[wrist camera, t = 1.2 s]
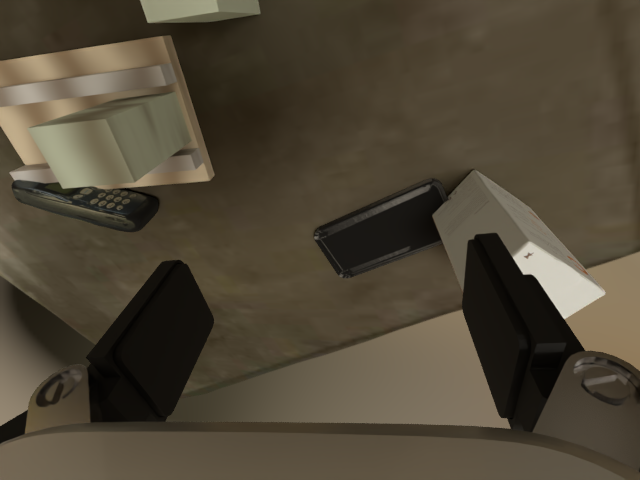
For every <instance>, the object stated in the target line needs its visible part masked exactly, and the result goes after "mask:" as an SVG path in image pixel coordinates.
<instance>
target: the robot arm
mask: <svg viewBox="0 0 640 480" xmlns="http://www.w3.org/2000/svg"><path fill="white" fill-rule="evenodd" d="M462 308H463V313H464V316H465V320H466V322H467V325H468V328H469V331H470V334H471V337H472V339H473V342H474V345H475V348H476V351H477V354H478V357H479V359H480V362H481V365H482V367H483V371H484V373H485V376H486V379H487V382H488V385H489V388H490V391H491V394H492V397H493V399H494V402H495V405H496V408H497V411H498V413H499V415H500V417H501V418H507V419H508V422H509V424H510V427H511V429H505V428H492V427H478V426H455V425H423V424H420V425H419V424H368V423H367V424H365V423H289V422H287V423H286V422H285V423H284V422H279V423H278V422H165V421H166V419H167V417H168V416H169V415H171V414H172V412H173V411H174V408H175V407H176V404H177V402H178V400H179V398H180V396H181V394H182V392H183V389H184V387H185V385H186V383H187V381H188V379H189V377H190V374H191V372H192V370H193V368H194V366H195V364H196V362H197V359H198V357H199V355H200V353H201V351H202V349H203V347H204V344H205V342H206V340H207V338H208V336H209V334H210V332H211V329H212V327H213V324H214V318H213V315H212V313H211V311H210V309H209V307H208V305H207V303H206V301H205V299H204V297H203V295H202V293H201V291H200V289H199V287H198V285H197V283H196V281H195V279H194V277H193V275H192V273H191V271H190V269H189V267H188V265H187V264H184V263H183V262H182V261H181V260H172V261H164V262H162V263H161V264H160V265H159V266H158V267H157V269H156V270H155V271H154V272H153V274H152V275H151V276H150V277H149V279H148V280H147V281H146V283H145V284H144V285H143V286H142V288H141V289H140V290H139V291H138V293H137V294H136V295H135V296H134V298H133V299H132V300H131V301H130V303H129V304H128V305H127V306H126V308H125V309H124V310H123V311H122V313H121V314H120V315H119V316H118V318H117V319H116V320H115V321H114V323H113V324H112V325H111V326H110V328H109V329H108V330H107V332H106V333H105V334H104V335H103V337H102V338H101V339H100V340H99V342H98V343H97V344H96V345H95V347H94V348H93V349H92V351H91V352H90V353H89V354H88V355H87V357H86V358H87V359H88V360H89V362H90V363H91V364H90V365H89V367H88V368H86V367H85V366H83V365H71V366H67V367H66V368H63V369H60V370H59V371H57V372H56V373H54V374H52V375H51V376H49V377H48V378H47V379H46V380H44V381H43V382H42V383H41V384H40V385H39V387H38V388H37V389H36V390H35V391H34V393H33V395H32V396H31V398H30V401H29V406H28V410H27V411H25V412H24V413H22V414H20V415H18V416H17V417H15V418H13V419H12V420H10V421H8V422H7V423H5V424H3V425H2V426H0V480H640V371H639V370H638V369H636V368H635V367H634V366H632V365H631V364H629V363H627V362H625V361H624V360H622V359H619V358H617V357H615V356H612V355H609V354H606V353H603V352H595V351H585V350H584V348H583V347H582V345H581V344H580V342H579V341H578V339H577V338H576V336H575V335H574V333H573V332H572V330H571V329H570V327H569V326H568V324H567V323H566V321H565V320H564V318H563V317H562V315H561V314H560V312H559V311H558V309H557V308H556V307H555V305H554V304H553V302H552V301H551V299H550V298H549V296H548V295H547V293H546V292H545V290H544V289H543V287H542V286H541V284H540V283H539V281H538V280H537V279H536V278H535V276H533V275H531V274H526V275H523V273H522V271H521V270H520V268H519V267H518V265H517V264H516V262H515V260H514V259H513V257H512V256H511V254H510V253H509V251H508V249H507V248H506V246H505V245H504V243H503V241H502V240H501V238H500V237H499V235H498V234H497V233H485V234H476V235H475V236H474V239H471V240H468V243H467V254H466V266H465V277H464V289H463V301H462Z"/></svg>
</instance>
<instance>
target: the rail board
mask: <svg viewBox="0 0 640 480" xmlns="http://www.w3.org/2000/svg"><path fill="white" fill-rule="evenodd" d="M0 126H1V127H2V129H3V131H4V132H5V134H6V135H7V137H8V138H9V140H10V142H11V143H12V145H13V146H14V148H15V149H16V151H17V153H18V154H19V156H20V157H21V159H22V160H23V162H24V164H25V166H23V167H20V168H18V169H16V170H13V171H11V172H9V173H10V174H11V176H12V177H13V179H14V180H15V181H16V180H26V181H34V182H41V183H55V182H59V183H60V185H61V186H62V188H63V189H65V188H77V187H89V186H94V187H97V188H101V189H104V190H106V189H118V188H130V187H142V186H153V185H165V184H177V183H189V182H201V181H210V180H211V179H212V178H213V177H214V176H215V174H214V171H213V168H212V165H211V161H210V158H209V155H208V152H207V149H206V146H205V142H204V139H203V136H202V133H201V130H200V127H199V123H198V120H197V117H196V114H195V111H194V108H193V104H192V101H191V98H190V95H189V92H188V89H187V85H186V82H185V79H184V76H183V73H182V70H181V66H180V63H179V60H178V57H177V54H176V50H175V47H174V44H173V41H172V38H171V35H168V36H159V37H153V38H146V39H140V40H133V41H127V42H120V43H114V44H107V45H101V46H95V47H88V48H82V49H75V50H69V51H62V52H56V53H49V54H43V55H36V56H30V57H24V58H17V59H11V60H4V61H0Z"/></svg>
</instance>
